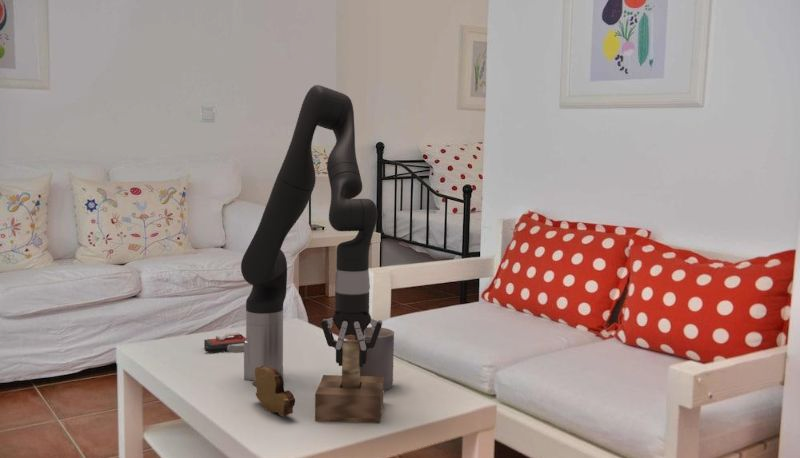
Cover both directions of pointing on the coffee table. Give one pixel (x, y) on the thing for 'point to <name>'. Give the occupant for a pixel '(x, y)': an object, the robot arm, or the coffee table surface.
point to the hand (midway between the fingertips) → (351, 365)
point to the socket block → (349, 400)
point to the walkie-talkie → (225, 343)
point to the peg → (350, 364)
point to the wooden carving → (273, 391)
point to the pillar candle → (380, 356)
